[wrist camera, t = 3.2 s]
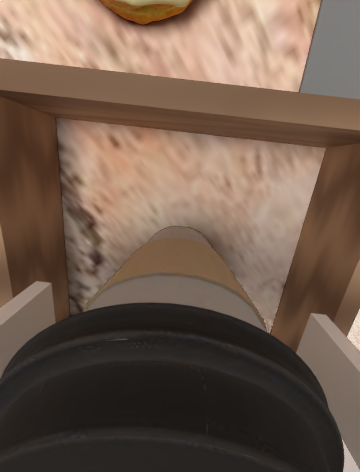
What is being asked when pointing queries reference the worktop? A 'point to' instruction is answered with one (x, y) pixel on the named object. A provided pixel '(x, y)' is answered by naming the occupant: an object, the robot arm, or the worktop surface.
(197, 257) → the coffee cup
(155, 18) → the decorated donut
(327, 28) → the mat
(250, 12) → the worktop surface
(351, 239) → the frame
